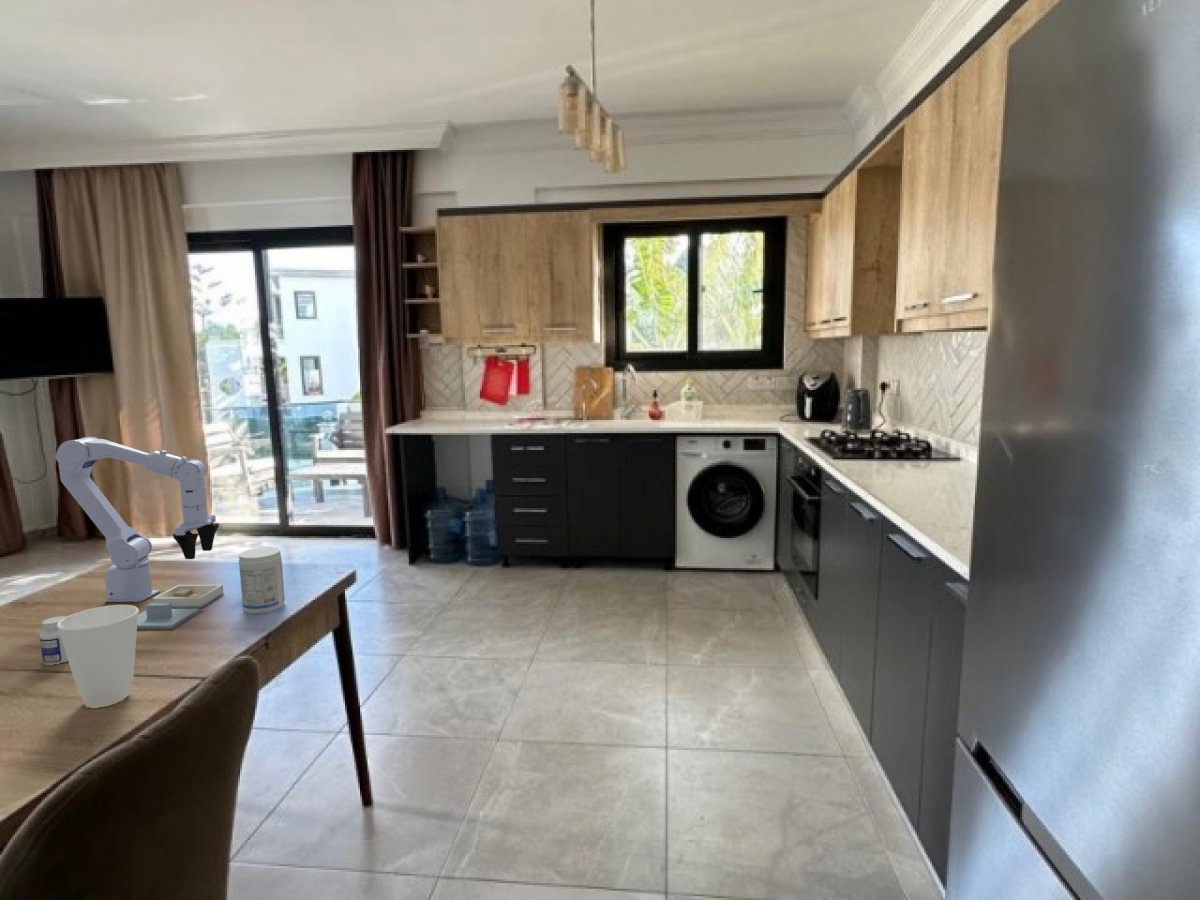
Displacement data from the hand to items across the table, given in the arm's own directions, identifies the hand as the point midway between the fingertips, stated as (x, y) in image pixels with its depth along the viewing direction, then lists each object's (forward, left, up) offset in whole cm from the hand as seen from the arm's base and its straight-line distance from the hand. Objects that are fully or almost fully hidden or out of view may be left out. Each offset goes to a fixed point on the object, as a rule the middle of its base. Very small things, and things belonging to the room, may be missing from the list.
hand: (198, 554), depth 175 cm
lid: (+2, -20, -10) cm, 22 cm away
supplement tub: (+23, -12, -11) cm, 28 cm away
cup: (+17, -57, -11) cm, 60 cm away
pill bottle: (-5, -41, -11) cm, 43 cm away
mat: (+2, -20, -10) cm, 23 cm away
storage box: (+1, -7, -10) cm, 13 cm away
